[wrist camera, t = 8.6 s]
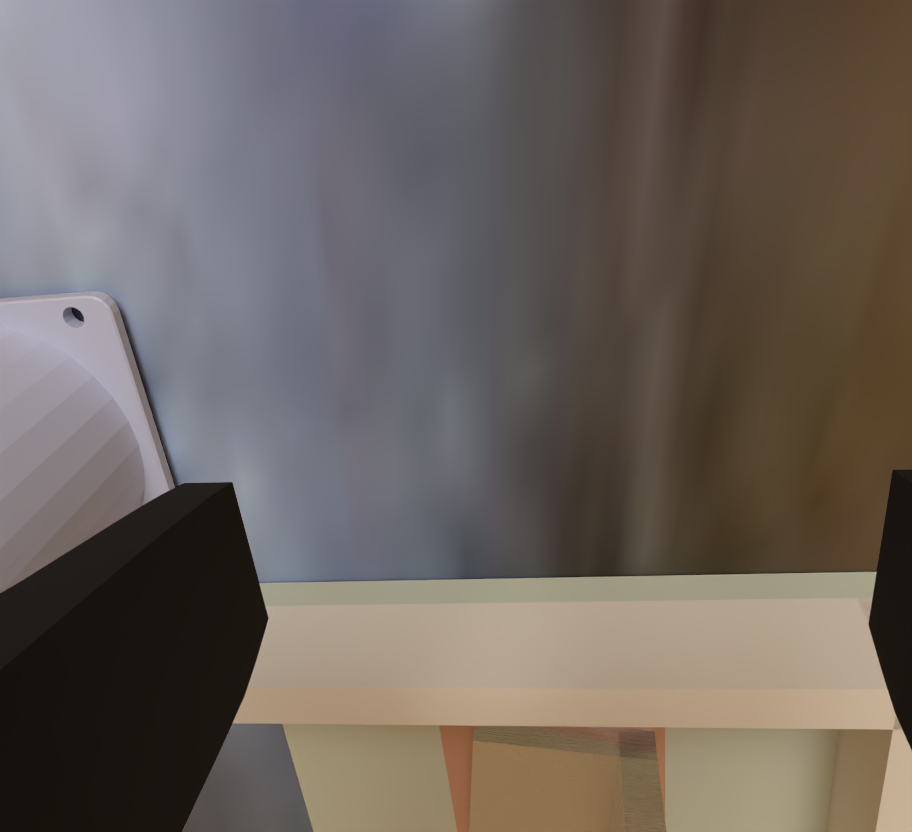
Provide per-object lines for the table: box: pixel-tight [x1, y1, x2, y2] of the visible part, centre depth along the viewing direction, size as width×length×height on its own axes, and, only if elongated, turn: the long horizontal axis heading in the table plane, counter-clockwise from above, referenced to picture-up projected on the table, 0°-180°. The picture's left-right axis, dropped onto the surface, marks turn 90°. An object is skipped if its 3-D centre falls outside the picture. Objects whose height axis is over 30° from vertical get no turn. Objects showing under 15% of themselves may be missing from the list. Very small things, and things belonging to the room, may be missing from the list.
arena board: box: [260, 572, 877, 832], centre depth 25 cm, size 17×14×1 cm
